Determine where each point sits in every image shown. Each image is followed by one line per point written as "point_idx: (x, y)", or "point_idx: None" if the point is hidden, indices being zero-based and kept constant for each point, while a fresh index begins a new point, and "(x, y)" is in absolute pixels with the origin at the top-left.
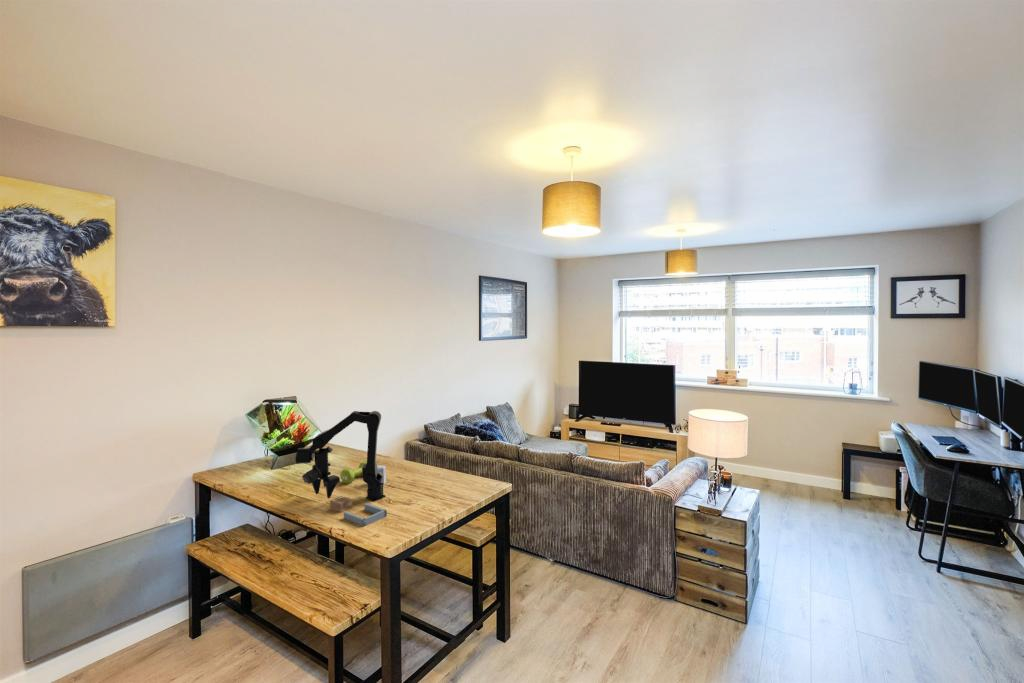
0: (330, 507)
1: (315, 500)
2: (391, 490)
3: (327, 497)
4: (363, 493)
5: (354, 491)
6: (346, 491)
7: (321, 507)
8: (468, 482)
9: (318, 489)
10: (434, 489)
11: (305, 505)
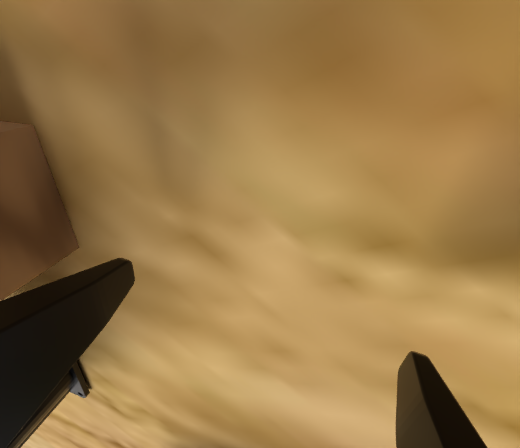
0: (8, 129)
1: (398, 265)
2: (88, 418)
3: (117, 264)
4: (150, 400)
5: (223, 426)
6: (272, 431)
7: (138, 120)
8: None
9: (403, 444)
10: None
11: (420, 63)
